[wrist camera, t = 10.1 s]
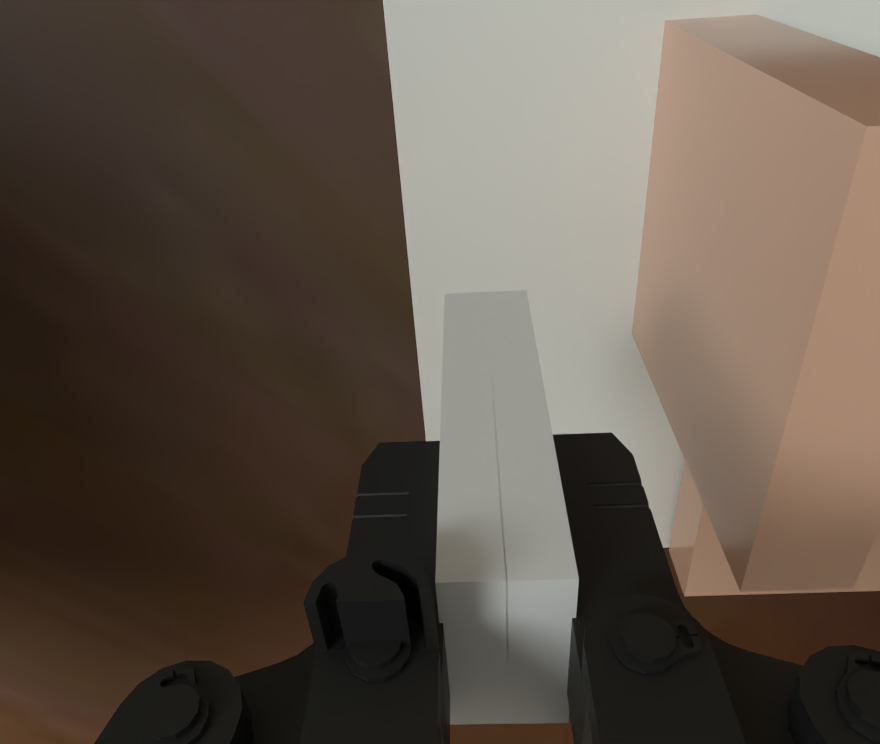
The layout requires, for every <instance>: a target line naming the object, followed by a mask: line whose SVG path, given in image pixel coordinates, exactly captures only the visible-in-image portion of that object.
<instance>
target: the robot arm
mask: <svg viewBox="0 0 880 744" xmlns="http://www.w3.org/2000/svg"><path fill="white" fill-rule="evenodd" d="M641 482H642V481H641V478H640V475H639V472H638V469H637V465H636V462H635V459H634V456H633V454H632V453H631V452H630V451H629V450H628V449H627V448H626V447H625V446H624V445H623V444H622V443H621V442H620V441H619V440H618V438H617V437H616V436H615V435H614V434H613V433H612V432H611V433H583V434H555V435H553V434H552V428H551V423H550V417H549V412H548V406H547V401H546V395H545V390H544V384H543V379H542V373H541V368H540V362H539V357H538V352H537V346H536V341H535V335H534V330H533V324H532V319H531V313H530V308H529V302H528V297H527V291H526V290H517V291H495V292H474V293H452V294H445V299H444V330H443V360H442V391H441V421H440V441H417V442H389V443H379V444H378V445H377V447H376V448H375V449H374V451H373V452H372V453H371V455H370V456H369V457H368V459H367V460H366V461H365V463H364V464H363V465H362V469H361V474H360V480H359V486H358V492H357V493H358V497H357V498H356V504H355V509H354V520H353V521H352V527H351V533H350V539H349V544H348V550H347V556H346V557H345V558H343V559H341V560H339V561H337V562H335V563H333V564H332V565H330V566H328V567H327V568H326V569H325V570H324V571H323V572H322V573H321V574H320V575H319V576H318V577H317V578H316V579H315V580H314V581H313V583H312V585H311V587H310V589H309V591H308V594H307V596H306V598H305V600H304V606H305V610H306V614H307V618H308V621H309V625H310V629H311V633H312V636H313V640H314V643H313V644H312V645H311V646H309V647H308V648H306V649H305V650H303V651H302V652H300V653H299V654H298V655H296V656H293V657H291V658H289V659H287V660H284V661H282V662H280V663H277V664H274V665H271V666H268V667H265V668H262V669H259V670H256V671H253V672H250V673H247V674H243V675H240V676H237V677H233V675H232V674H231V672H230V671H229V670H228V669H226V668H224V667H222V666H220V665H218V664H215V663H213V662H211V661H184V662H181V663H178V664H175V665H171V666H168V667H165V668H162V669H161V670H159V671H158V672H156V673H155V674H153V675H152V676H150V677H149V678H147V679H145V680H144V681H142V682H141V683H139V684H138V685H137V687H136V688H135V689H134V690H133V691H132V692H131V693H130V694H129V696H128V697H127V698H126V699H125V700H124V701H123V702H122V703H121V705H120V706H119V707H118V709H117V710H116V712H115V713H114V715H113V716H112V718H111V719H110V721H109V722H108V724H107V725H106V727H105V728H104V730H103V731H102V733H101V734H100V736H99V737H98V739H97V740H96V742H95V743H94V744H450V725H451V724H523V723H568V720H569V711H570V718H571V725H572V732H573V739H574V744H880V652H878V651H874V650H871V649H867V648H863V647H859V646H855V645H848V646H830V647H827V648H825V649H823V650H821V651H819V652H817V653H815V654H813V655H811V656H809V658H808V660H807V662H806V663H805V665H804V666H802V665H798V664H794V663H790V662H787V661H783V660H779V659H775V658H772V657H768V656H764V655H760V654H757V653H753V652H749V651H747V650H744V649H741V648H738V647H736V646H733V645H730V644H728V643H726V642H725V641H723V640H721V639H719V638H718V637H716V636H714V635H712V634H711V633H710V632H708V631H707V630H706V629H705V628H704V627H702V626H701V625H700V623H699V622H698V621H697V620H696V619H694V618H693V617H692V616H691V614H690V613H689V612H688V611H687V609H686V608H685V607H684V605H683V603H682V601H681V599H680V596H679V594H678V592H677V589H676V586H675V583H674V580H673V577H672V574H671V571H670V568H669V565H668V561H667V558H666V555H665V552H664V549H663V546H662V543H661V540H660V537H659V534H658V530H657V527H656V524H655V521H654V518H653V515H652V512H651V509H649V503H648V499H647V496H646V493H645V490H644V487H643V486H642V483H641Z"/></svg>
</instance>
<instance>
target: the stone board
mask: <svg viewBox="0 0 880 744" xmlns="http://www.w3.org/2000/svg"><path fill="white" fill-rule="evenodd" d="M383 6H384V16H385V26H386V36H387V47H388V57H389V67H390V77H391V88H392V98H393V108H394V118H395V129H396V139H397V149H398V159H399V170H400V180H401V190H402V200H403V211H404V221H405V231H406V241H407V252H408V262H409V272H410V282H411V293H412V303H413V313H414V323H415V334H416V344H417V354H418V364H419V374H420V385H421V395H422V405H423V415H424V426H425V436H426V441H440V421H441V391H442V360H443V330H444V299H445V294H452V293H474V292H495V291H517V290H526V291H527V297H528V302H529V308H530V313H531V319H532V324H533V330H534V335H535V341H536V346H537V352H538V357H539V362H540V368H541V373H542V379H543V384H544V390H545V395H546V401H547V406H548V412H549V417H550V423H551V428H552V434H553V435H555V434H583V433H611V432H612V433H613V434H614V435H615V436H616V437H617V438H618V440H619V441H620V442H621V443H622V444H623V445H624V446H625V447H626V448H627V449H628V450H629V451H630V452H631V453H632V454H633V456H634V459H635V462H636V465H637V469H638V472H639V475H640V478H641V481H642V482H641V483H642V486H643V487H644V490H645V493H646V496H647V499H648V503H649V509H651V512H652V515H653V518H654V521H655V524H656V527H657V530H658V534H659V537H660V540H661V543H662V546H663V548H666V547H670V541H671V535H672V530H673V524H674V518H675V512H676V507H677V501H678V495H679V490H680V484H681V478H682V472H683V467H684V461H685V459H684V457H683V454H682V452H681V450H680V447H679V445H678V443H677V440H676V438H675V435H674V433H673V431H672V428H671V426H670V424H669V421H668V419H667V416H666V414H665V412H664V409H663V407H662V405H661V402H660V400H659V397H658V395H657V393H656V390H655V388H654V386H653V383H652V381H651V378H650V376H649V374H648V371H647V369H646V366H645V364H644V362H643V359H642V357H641V355H640V352H639V350H638V347H637V345H636V343H635V340H634V338H633V336H632V329H633V319H634V310H635V300H636V291H637V281H638V272H639V262H640V252H641V243H642V233H643V224H644V214H645V205H646V195H647V186H648V176H649V167H650V157H651V148H652V138H653V129H654V119H655V110H656V100H657V91H658V81H659V72H660V62H661V53H662V43H663V34H664V24H665V20H680V19H694V18H709V17H723V16H738V15H753V14H757V15H759V16H762V17H765V18H768V19H771V20H774V21H777V22H780V23H783V24H785V25H788V26H791V27H794V28H797V29H800V30H803V31H806V32H809V33H811V34H814V35H817V36H820V37H823V38H826V39H829V40H832V41H835V42H837V43H840V44H843V45H846V46H849V47H852V48H855V49H858V50H860V51H863V52H866V53H869V54H872V55H875V56H878V57H880V0H383Z"/></svg>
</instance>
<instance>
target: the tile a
mask: <svg viewBox="0 0 880 744" xmlns="http://www.w3.org/2000/svg"><path fill="white" fill-rule="evenodd" d="M669 552H670V555H671V558H672V561H673V564H674V567H675V570H676V573H677V576H678V579H679V582H680V585H681V588H682V591H683V594H684V596H712V595H747V594H783V593H819V592H854V591H880V526H879V529H878V531H877V534H876V536H875V538H874V541H873V543H872V546H871V548H870V551H869V553H868V555H867V558H866V560H865V563H864V565H863V568H862V570H861V572H860V575H859V577H858V580H857V582H856V585H855V587H854V588H851V589H816V590H781V591H745V592H740V590H739V588H738V585H737V583H736V580H735V578H734V576H733V573H732V571H731V569H730V566H729V564H728V561H727V559H726V557H725V554H724V552H723V550H722V547H721V545H720V542H719V540H718V538H717V535H716V533H715V531H714V528H713V526H712V523H711V521H710V519H709V516H708V514H707V512H706V509H705V507H704V504H703V502H702V500H701V497H700V495H699V492H698V490H697V488H696V485H695V483H694V481H693V478H692V476H691V473H690V471H689V469H688V466H687V464H686V462H685V461H684V467H683V472H682V478H681V484H680V490H679V495H678V501H677V507H676V512H675V518H674V524H673V530H672V535H671V541H670V547H669Z"/></svg>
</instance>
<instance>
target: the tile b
mask: <svg viewBox="0 0 880 744" xmlns="http://www.w3.org/2000/svg"><path fill="white" fill-rule="evenodd" d="M632 336H633V338H634V340H635V343H636V345H637V347H638V350H639V352H640V355H641V357H642V359H643V362H644V364H645V366H646V369H647V371H648V374H649V376H650V378H651V381H652V383H653V386H654V388H655V390H656V393H657V395H658V397H659V400H660V402H661V405H662V407H663V409H664V412H665V414H666V416H667V419H668V421H669V424H670V426H671V428H672V431H673V433H674V435H675V438H676V440H677V443H678V445H679V447H680V450H681V452H682V454H683V457H684V459H685V462H686V464H687V466H688V469H689V471H690V473H691V476H692V478H693V481H694V483H695V485H696V488H697V490H698V492H699V495H700V497H701V500H702V502H703V504H704V507H705V509H706V512H707V514H708V516H709V519H710V521H711V523H712V526H713V528H714V531H715V533H716V535H717V538H718V540H719V542H720V545H721V547H722V550H723V552H724V554H725V557H726V559H727V561H728V564H729V566H730V569H731V571H732V573H733V576H734V578H735V580H736V583H737V585H738V588H739V590H740V592H745V591H781V590H816V589H851V588H854V587H855V585H856V582H857V580H858V577H859V575H860V572H861V570H862V568H863V565H864V563H865V560H866V558H867V555H868V553H869V551H870V548H871V546H872V543H873V541H874V538H875V536H876V534H877V531H878V529H879V526H880V57H878V56H875V55H872V54H869V53H866V52H863V51H860V50H858V49H855V48H852V47H849V46H846V45H843V44H840V43H837V42H835V41H832V40H829V39H826V38H823V37H820V36H817V35H814V34H811V33H809V32H806V31H803V30H800V29H797V28H794V27H791V26H788V25H785V24H783V23H780V22H777V21H774V20H771V19H768V18H765V17H762V16H759V15H757V14H753V15H738V16H723V17H709V18H694V19H680V20H665V24H664V34H663V43H662V53H661V62H660V72H659V81H658V91H657V100H656V110H655V119H654V129H653V138H652V148H651V157H650V167H649V176H648V186H647V195H646V205H645V214H644V224H643V233H642V243H641V252H640V262H639V272H638V281H637V291H636V300H635V310H634V319H633V329H632Z"/></svg>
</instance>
